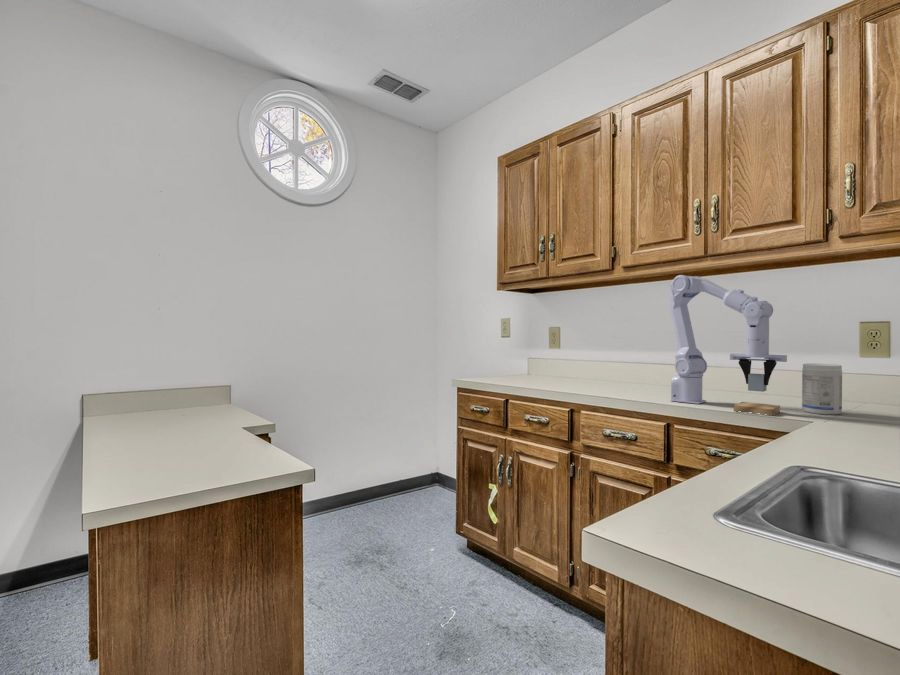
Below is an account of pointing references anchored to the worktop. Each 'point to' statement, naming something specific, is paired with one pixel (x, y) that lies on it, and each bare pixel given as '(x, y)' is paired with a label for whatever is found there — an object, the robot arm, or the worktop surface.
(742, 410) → the slab
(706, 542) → the worktop surface
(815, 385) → the supplement tub
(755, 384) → the block
